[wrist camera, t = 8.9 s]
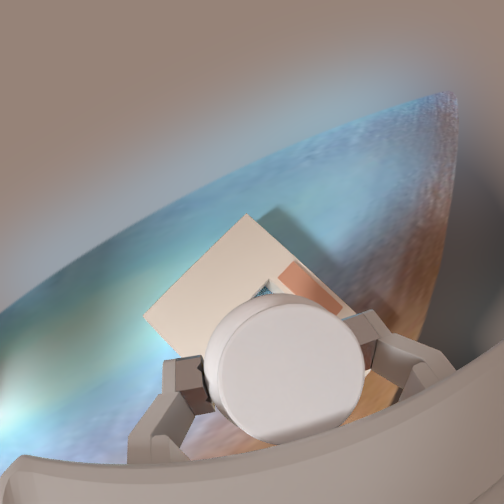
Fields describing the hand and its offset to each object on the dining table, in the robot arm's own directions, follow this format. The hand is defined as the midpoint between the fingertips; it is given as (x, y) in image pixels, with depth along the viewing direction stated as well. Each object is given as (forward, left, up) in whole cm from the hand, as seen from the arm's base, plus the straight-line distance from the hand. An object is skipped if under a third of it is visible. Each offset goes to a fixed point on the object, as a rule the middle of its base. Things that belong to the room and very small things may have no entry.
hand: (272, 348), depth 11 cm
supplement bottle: (+1, 0, -6) cm, 6 cm away
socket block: (+1, +1, -17) cm, 17 cm away
